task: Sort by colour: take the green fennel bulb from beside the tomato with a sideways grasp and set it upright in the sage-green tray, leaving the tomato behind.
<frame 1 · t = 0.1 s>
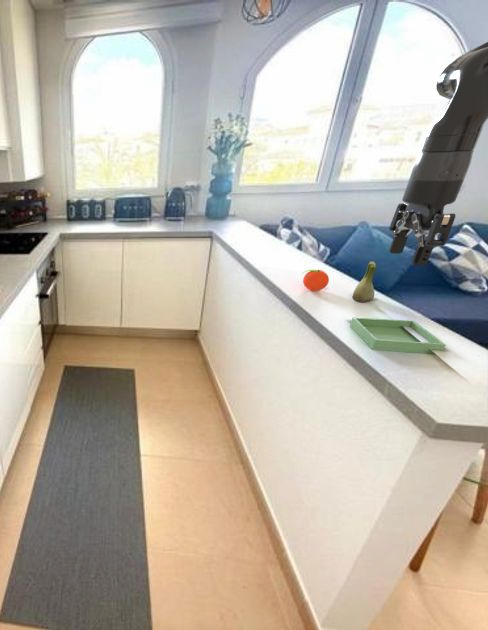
hand: (406, 258, 73), 22 cm above the table, tool pointing down, fingers open, 8 cm apart
green tray: (391, 339, 85), on the table
tomato: (311, 290, 115), on the table
fennel bulb: (361, 301, 105), on the table
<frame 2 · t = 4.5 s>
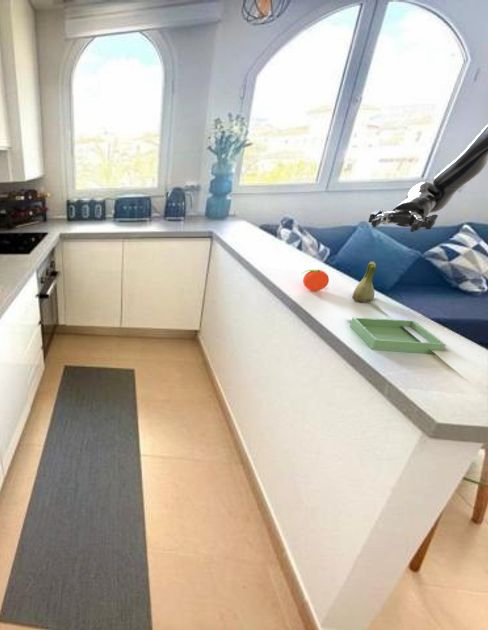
hand: (393, 226, 98), 22 cm above the table, tool horizontal, fingers open, 8 cm apart
nothing on the table moved.
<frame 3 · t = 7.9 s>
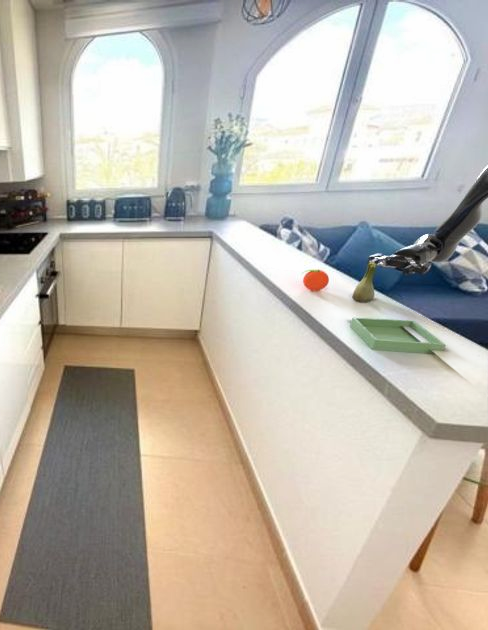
hand: (387, 268, 106), 8 cm above the table, tool horizontal, fingers open, 8 cm apart
nothing on the table moved.
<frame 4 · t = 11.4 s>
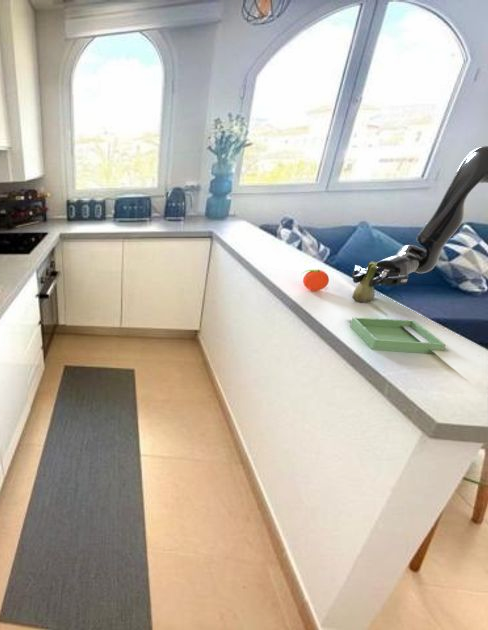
hand: (363, 281, 101), 7 cm above the table, tool horizontal, fingers closed on fennel bulb, 3 cm apart
fennel bulb: (361, 301, 105), on the table, touching gripper
everything else where it was.
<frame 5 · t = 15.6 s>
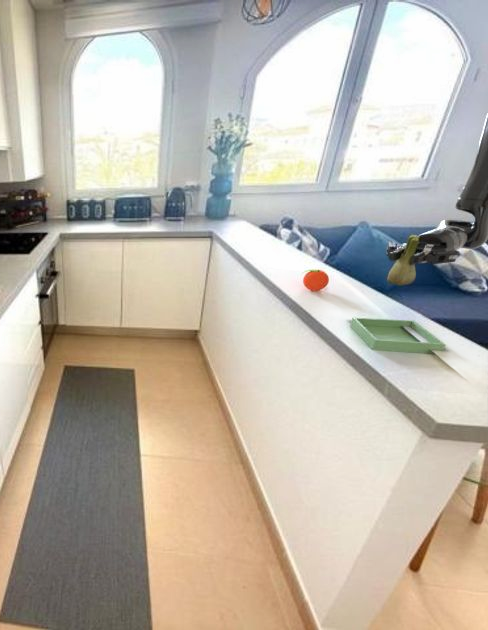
hand: (402, 258, 81), 19 cm above the table, tool horizontal, fingers closed on fennel bulb, 3 cm apart
fennel bulb: (398, 284, 86), point 12 cm above the table, touching gripper
everything else where it was.
when the fingers open (8 cm above the table, at t = 20.0 s): fennel bulb stays where it is, resting on green tray.
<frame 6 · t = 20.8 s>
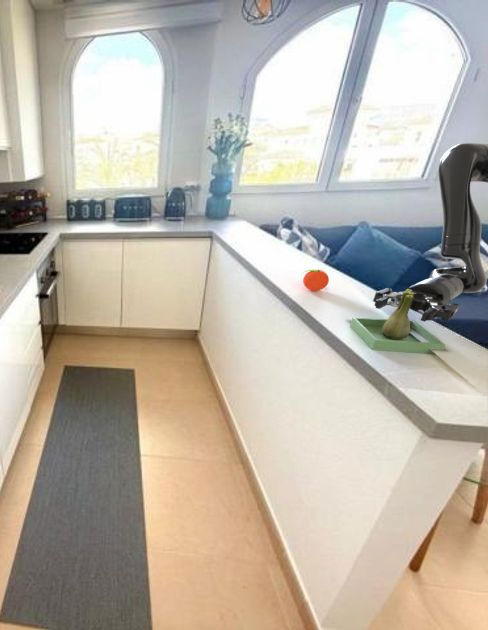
hand: (400, 310, 81), 8 cm above the table, tool horizontal, fingers open, 8 cm apart
fennel bulb: (393, 337, 85), resting on green tray
everything else where it was.
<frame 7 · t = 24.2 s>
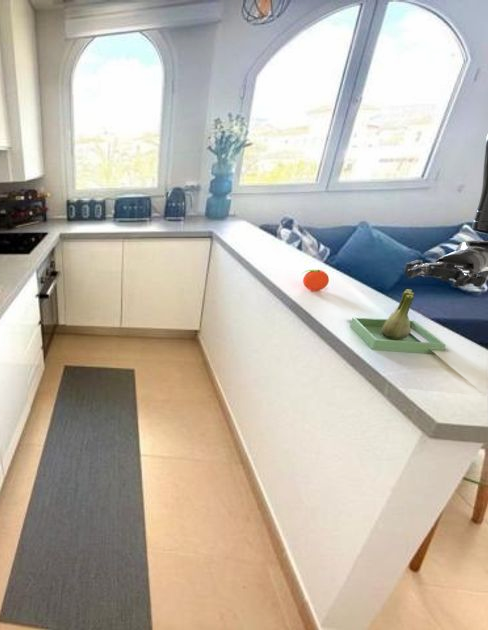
hand: (432, 278, 84), 13 cm above the table, tool horizontal, fingers open, 8 cm apart
nothing on the table moved.
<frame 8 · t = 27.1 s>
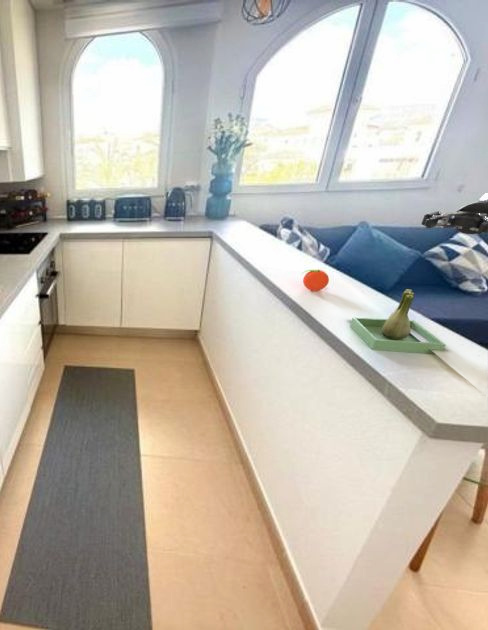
hand: (454, 226, 78), 26 cm above the table, tool horizontal, fingers open, 8 cm apart
nothing on the table moved.
at the end: fennel bulb inside the target area in the green tray (0.2 cm from its centre), point 0.4 cm above the green tray's base; fennel bulb tilted 0°; tomato moved 0.2 cm from its start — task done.
